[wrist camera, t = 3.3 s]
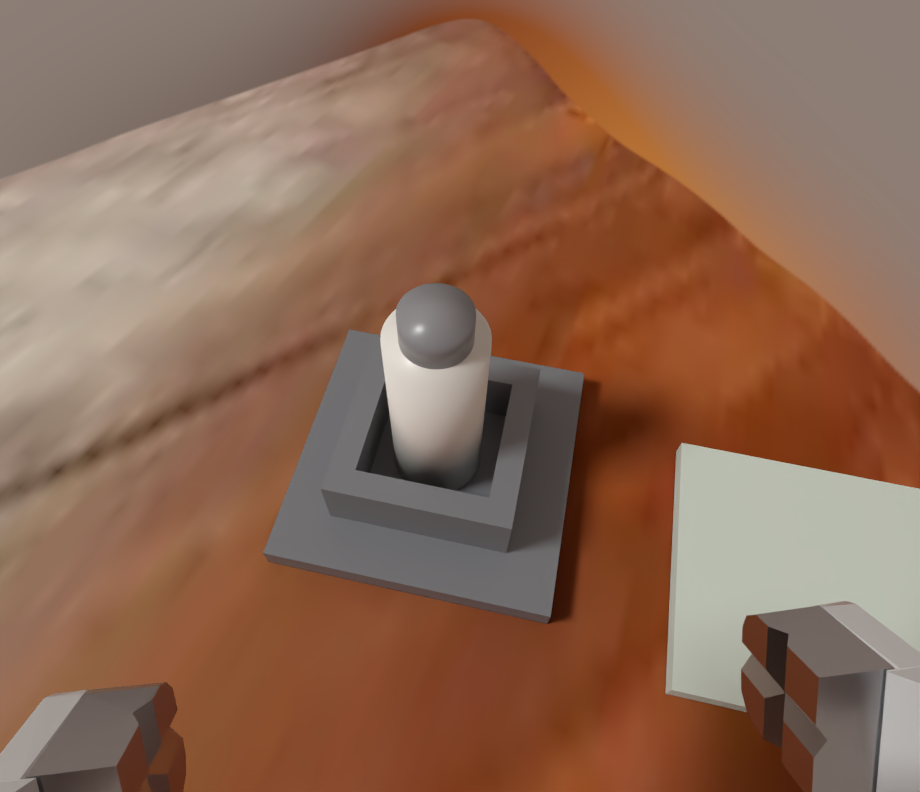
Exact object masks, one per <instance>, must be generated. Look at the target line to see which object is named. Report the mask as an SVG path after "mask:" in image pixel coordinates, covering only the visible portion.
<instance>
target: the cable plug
mask: <svg viewBox="0 0 920 792" xmlns="http://www.w3.org/2000/svg"><path fill="white" fill-rule="evenodd" d="M380 343H381V352H382V360H383V368H384V375H385V383H386V391H387V399H388V407H389V414H390V422H391V430H392V438H393V445H394V453H395V461H396V466H397V469H398V471H399V473H400V475H401V477H402V478H403V479H404V480H406V481H411V482H416V483H421V484H425V485H430V486H435V487H440V488H445V489H450V490H454V491H456V490H458V489H460V488H462V487H463V486H465V485H466V484H467V483H468V482H469V481H470V480H471V479H472V478H473V476H474V475H475V473H476V471H477V469H478V465H479V460H480V451H481V442H482V432H483V423H484V413H485V404H486V394H487V385H488V375H489V366H490V356H491V347H492V335H491V330H490V327H489V325H488V323H487V321H486V319H485V318H484V316H483V315H482V314H481V313H480V312H479V311H478V310H477V309H476V308H475V306H474V303H473V302H472V300H471V299H470V297H469V296H468V295H467V294H466V293H464V292H463V291H462V290H460V289H458V288H456V287H454V286H451V285H447V284H441V283H431V284H425V285H421V286H418V287H416V288H414V289H412V290H410V291H409V292H407V293H406V294H405V295H404V296H403V297H402V298H401V300H400V301H399V303H398V305H397V309H396V310H394V311H393V312H392V313H391V314H390V316H389V317H388V318H387V320H386V321H385V323H384V325H383V328H382V331H381V337H380Z"/></svg>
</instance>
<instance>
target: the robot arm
mask: <svg viewBox="0 0 920 792" xmlns="http://www.w3.org/2000/svg"><path fill="white" fill-rule="evenodd" d="M742 642H743V644H744V645H745V646H746V647H747V649H748V650H749V651H750V652H751V656H750V657H749V659H748V660H747V661H746V663H745V664H744V666H743V667H742V669H741V691H742V695H743V699H744V703H745V707H746V711H747V713H748V715H749V717H750V719H751V721H752V723H753V725H754V727H755V728H756V729H757V731H758V732H759V733H760V735H761V736H762V738H763V739H765V740H767V741H769V742H770V743H772V744H774V745H776V746H778V747H780V748H782V764H783V766H784V767H785V768H786V770H787V771H788V772H789V773H790V775H791V776H792V777H793V779H794V780H795V781H796V783H797V784H798V785H799V787H800V788H801V789H802V791H803V792H920V652H918V651H917V650H916V649H914V648H913V647H912V646H910V645H909V644H908V643H907V642H905V641H904V640H903V639H901V638H900V637H899V636H897V635H896V634H895V633H893V632H892V631H891V630H890V629H888V628H887V627H886V626H884V625H883V624H882V623H880V622H879V621H878V620H876V619H875V618H874V617H872V616H871V615H870V614H869V613H867V612H866V611H865V610H863V609H862V608H861V607H859V606H858V605H857V604H855V603H851V602H848V601H841V602H834V603H828V604H821V605H815V606H812V607H804V608H797V609H790V610H783V611H776V612H769V613H761V614H754V615H747V616H746V618H745V621H744V623H743V628H742ZM176 712H177V706H176V701H175V697H174V692H173V688H172V687H171V686H170V685H169V684H168V683H166V682H164V683H153V684H143V685H132V686H122V687H112V688H101V689H93V690H80V691H72V692H64V693H56V694H53V695H50V696H48V697H45V698H44V699H43V700H42V701H41V703H40V704H39V705H38V707H37V708H36V709H35V710H34V712H33V713H32V714H31V715H30V717H29V718H28V719H27V721H26V722H25V723H24V724H23V726H22V727H21V728H20V729H19V731H18V732H17V733H16V735H15V736H14V737H13V738H12V740H11V741H10V742H9V743H8V745H7V746H6V747H5V749H4V750H3V751H2V752H1V754H0V792H183V789H184V783H185V776H186V755H185V749H184V743H183V738H182V737H181V736H180V735H179V734H178V733H176V732H175V731H174V730H173V729H172V728H171V727H170V725H171V722H172V720H173V718H174V716H175V714H176Z"/></svg>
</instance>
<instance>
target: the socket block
mask: <svg viewBox="0 0 920 792" xmlns="http://www.w3.org/2000/svg"><path fill="white" fill-rule="evenodd" d="M380 337H381V335H376V334H371V333H365V332H360V331H355V330H349V332H348V334H347V337H346V340H345V342H344V345H343V347H342V350H341V353H340V355H339V358H338V360H337V363H336V366H335V368H334V371H333V373H332V376H331V378H330V381H329V384H328V386H327V389H326V391H325V394H324V397H323V399H322V402H321V404H320V407H319V410H318V412H317V415H316V417H315V420H314V423H313V425H312V428H311V430H310V433H309V436H308V438H307V441H306V443H305V446H304V449H303V451H302V454H301V456H300V459H299V461H298V464H297V467H296V469H295V472H294V474H293V477H292V480H291V482H290V485H289V487H288V490H287V493H286V495H285V498H284V500H283V503H282V506H281V508H280V511H279V513H278V516H277V519H276V521H275V524H274V526H273V529H272V532H271V534H270V537H269V539H268V542H267V544H266V547H265V550H264V552H263V554H264V555H265V557H266V558H267V560H268V561H269V562H272V563H277V564H281V565H286V566H290V567H295V568H299V569H303V570H308V571H312V572H317V573H321V574H326V575H330V576H335V577H339V578H344V579H348V580H353V581H357V582H362V583H366V584H371V585H375V586H380V587H384V588H389V589H393V590H398V591H402V592H407V593H411V594H416V595H420V596H424V597H429V598H433V599H438V600H442V601H447V602H451V603H456V604H460V605H465V606H469V607H474V608H478V609H483V610H487V611H492V612H496V613H501V614H505V615H510V616H514V617H519V618H523V619H528V620H532V621H536V622H541V623H545V624H547V623H548V621H549V619H550V617H551V611H552V604H553V596H554V589H555V582H556V575H557V567H558V560H559V553H560V546H561V538H562V531H563V524H564V517H565V509H566V502H567V495H568V488H569V480H570V473H571V466H572V459H573V452H574V444H575V437H576V430H577V423H578V415H579V408H580V401H581V394H582V386H583V379H584V373H579V372H574V371H569V370H563V369H558V368H553V367H547V366H542V365H536V364H531V363H526V362H520V361H515V360H510V359H504V358H499V357H494V356H490V366H489V375H488V385H487V394H486V404H485V413H484V423H483V432H482V442H481V451H480V460H479V465H478V469H477V471H476V473H475V475H474V476H473V478H472V479H471V480H470V481H469V482H468V483H467V484H466V485H465V486H463V487H462V488H460V489H458V490H456V491H454V490H450V489H445V488H440V487H435V486H430V485H425V484H421V483H416V482H411V481H406V480H404V479H403V478H402V477H401V475H400V473H399V471H398V469H397V466H396V461H395V453H394V445H393V438H392V430H391V422H390V414H389V407H388V399H387V391H386V383H385V375H384V368H383V360H382V352H381V343H380Z"/></svg>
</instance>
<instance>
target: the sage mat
mask: <svg viewBox="0 0 920 792" xmlns="http://www.w3.org/2000/svg"><path fill="white" fill-rule="evenodd" d="M841 601H848V602H851V603H855V604H857V605H858V606H859V607H861V608H862V609H863V610H865V611H866V612H867V613H869V614H870V615H871V616H872V617H874V618H875V619H876V620H878V621H879V622H880V623H882V624H883V625H884V626H886V627H887V628H888V629H890V630H891V631H892V632H893V633H895V634H896V635H897V636H899V637H900V638H901V639H903V640H904V641H905V642H907V643H908V644H909V645H910V646H912V647H913V648H914V649H916V650H917V651H918V652H920V489H917V488H912V487H907V486H902V485H897V484H892V483H886V482H881V481H876V480H871V479H866V478H861V477H855V476H850V475H845V474H840V473H835V472H830V471H825V470H819V469H814V468H809V467H804V466H799V465H794V464H788V463H783V462H778V461H773V460H768V459H763V458H758V457H752V456H747V455H742V454H737V453H732V452H727V451H721V450H716V449H711V448H706V447H701V446H696V445H691V444H685V443H681V445H680V446H679V448H678V450H677V451H676V468H675V490H674V513H673V535H672V558H671V580H670V603H669V625H668V648H667V670H666V693H665V694H669V695H674V696H678V697H682V698H687V699H691V700H695V701H700V702H704V703H709V704H713V705H717V706H722V707H726V708H730V709H735V710H739V711H743V712H747V711H746V707H745V703H744V699H743V695H742V691H741V669H742V667H743V666H744V664H745V663H746V661H747V660H748V659H749V657H750V656H751V652H750V651H749V650H748V649H747V647H746V646H745V645H744V644H743V642H742V628H743V623H744V621H745V618H746V616H747V615H754V614H761V613H769V612H776V611H783V610H790V609H797V608H804V607H812V606H815V605H821V604H828V603H834V602H841Z"/></svg>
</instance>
